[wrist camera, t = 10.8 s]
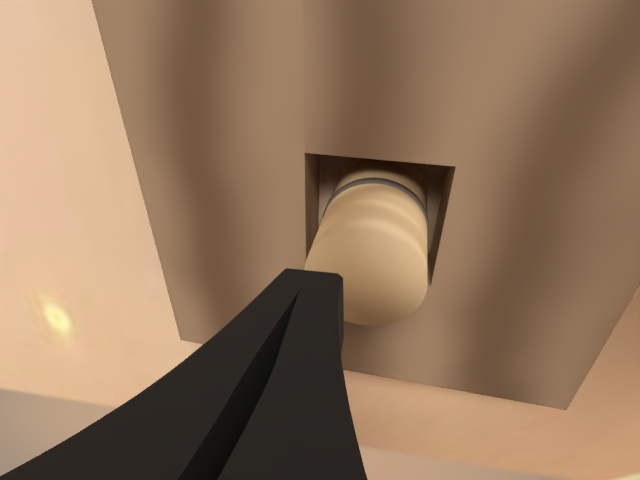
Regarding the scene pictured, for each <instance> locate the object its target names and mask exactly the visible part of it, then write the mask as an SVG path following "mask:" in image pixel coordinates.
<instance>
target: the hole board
mask: <svg viewBox="0 0 640 480" xmlns="http://www.w3.org/2000/svg"><path fill="white" fill-rule="evenodd" d="M92 4H93V8H94V12H95V15H96V19H97V23H98V27H99V31H100V34H101V38H102V42H103V46H104V50H105V53H106V57H107V61H108V65H109V69H110V72H111V76H112V80H113V84H114V88H115V91H116V95H117V99H118V103H119V107H120V110H121V114H122V118H123V122H124V126H125V130H126V133H127V137H128V141H129V145H130V149H131V152H132V156H133V160H134V164H135V168H136V171H137V175H138V179H139V183H140V187H141V190H142V194H143V198H144V202H145V206H146V209H147V213H148V217H149V221H150V225H151V228H152V232H153V236H154V240H155V244H156V247H157V251H158V255H159V259H160V263H161V267H162V270H163V274H164V278H165V282H166V286H167V289H168V293H169V297H170V301H171V305H172V308H173V312H174V316H175V320H176V324H177V327H178V331H179V335H180V339H181V340H184V341H189V342H195V343H200V344H205V343H206V342H207V341H208V340H209V339H211V338H212V337H213V336H214V335H215V334H217V333H218V332H219V331H220V330H221V329H222V328H223V327H224V326H226V325H227V324H228V323H229V322H230V321H231V320H232V319H233V318H234V317H235V316H236V315H237V314H239V313H240V312H241V311H242V310H243V309H244V308H245V307H246V306H247V305H248V304H249V303H250V302H251V301H252V300H253V299H254V298H256V297H257V296H258V295H259V294H260V293H261V292H262V291H263V290H264V289H265V288H266V287H267V286H268V285H269V284H270V283H271V282H272V281H273V280H274V279H275V278H276V277H277V276H278V275H279V274H280V273H281V272H282V271H283V270H285V269H286V268H290V269H300V270H304V268H305V263H306V260H307V257H308V255H309V252H310V249H311V247H312V244H313V242H314V239H315V237H316V234H317V232H318V198H319V154H322V155H333V156H344V157H355V158H366V159H377V160H388V161H400V162H411V163H422V164H433V165H444V166H447V170H446V175H445V180H444V185H443V190H442V195H441V200H440V205H439V210H438V215H437V220H436V225H435V231H434V236H433V241H432V246H431V251H430V253H429V252H427V291H426V295H425V297H424V300H423V301H422V303H421V305H420V306H419V307H418V308H417V309H416V310H415V311H414V312H413V313H412V314H411V315H409V316H408V317H406V318H404V319H402V320H400V321H397V322H394V323H391V324H387V325H379V326H367V325H359V324H354V323H350V322H347V321H344V338H343V346H342V354H341V360H342V367H343V369H344V370H349V371H355V372H360V373H366V374H371V375H377V376H382V377H388V378H393V379H399V380H404V381H410V382H415V383H421V384H426V385H432V386H437V387H443V388H448V389H454V390H459V391H465V392H470V393H476V394H481V395H487V396H492V397H498V398H503V399H509V400H514V401H520V402H525V403H531V404H536V405H542V406H547V407H553V408H558V409H564V410H567V408H568V406H569V405H570V403H571V401H572V399H573V398H574V396H575V394H576V393H577V391H578V389H579V387H580V386H581V384H582V382H583V381H584V379H585V377H586V375H587V374H588V372H589V370H590V369H591V367H592V365H593V363H594V362H595V360H596V358H597V356H598V355H599V353H600V351H601V350H602V348H603V346H604V344H605V343H606V341H607V339H608V338H609V336H610V334H611V332H612V331H613V329H614V327H615V326H616V324H617V322H618V320H619V319H620V317H621V315H622V313H623V312H624V310H625V308H626V307H627V305H628V303H629V301H630V300H631V298H632V296H633V295H634V293H635V291H636V289H637V288H638V286H639V284H640V0H92Z"/></svg>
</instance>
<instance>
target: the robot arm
mask: <svg viewBox="0 0 640 480" xmlns="http://www.w3.org/2000/svg"><path fill="white" fill-rule="evenodd" d="M343 338H344V302H343V277H342V276H341V275H339V274H338V273H330V272H320V271H310V270H300V269H290V268H286V269H285V270H283V271H282V272H281V273H280V274H279V275H278V276H277V277H276V278H275V279H274V280H273V281H272V282H271V283H270V284H269V285H268V286H267V287H266V288H265V289H264V290H263V291H262V292H261V293H260V294H259V295H258V296H257V297H256V298H254V299H253V300H252V301H251V302H250V303H249V304H248V305H247V306H246V307H245V308H244V309H243V310H242V311H241V312H240V313H239V314H237V315H236V316H235V317H234V318H233V319H232V320H231V321H230V322H229V323H228V324H227V325H226V326H224V327H223V328H222V329H221V330H220V331H219V332H218V333H217V334H215V335H214V336H213V337H212V338H211V339H209V340H208V341H207V342H206V343H205V344H203V345H202V346H201V347H200V348H199V349H197V350H196V351H195V352H194V353H193V354H191V355H190V356H189V357H188V358H187V359H185V360H184V361H183V362H181V363H180V364H179V365H178V366H176V367H175V368H174V369H172V370H171V371H170V372H168V373H167V374H166V375H164V376H163V377H162V378H160V379H159V380H158V381H156V382H155V383H153V384H152V385H151V386H149V387H148V388H146V389H145V390H144V391H142V392H141V393H139V394H138V395H137V396H135V397H134V398H132V399H131V400H129V401H127V402H126V403H124V404H123V405H121V406H120V407H118V408H117V409H115V410H114V411H112V412H110V413H109V414H107V415H105V416H104V417H103V418H101V419H100V420H98V421H96V422H95V423H93V424H91V425H90V426H88V427H86V428H85V429H83V430H82V431H80V432H79V433H77V434H75V435H74V436H72V437H70V438H68V439H67V440H65V441H63V442H62V443H60V444H58V445H56V446H55V447H53V448H51V449H49V450H48V451H46V452H44V453H42V454H41V455H39V456H37V457H35V458H33V459H32V460H30V461H28V462H26V463H24V464H23V465H20V466H19V467H17V468H15V469H13V470H11V471H10V472H8V473H6V474H4V475H2V476H0V480H367V477H366V473H365V470H364V466H363V462H362V458H361V454H360V450H359V446H358V442H357V438H356V434H355V430H354V425H353V421H352V416H351V412H350V407H349V402H348V397H347V391H346V386H345V380H344V374H343V367H342V360H341V354H342V346H343Z"/></svg>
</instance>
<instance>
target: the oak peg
mask: <svg viewBox="0 0 640 480" xmlns="http://www.w3.org/2000/svg"><path fill="white" fill-rule="evenodd" d="M428 230H429V222H428V215H427V188H426V184H425V180H424V178H423V176H422V174H421V173H420V171H419V170H418V169H417V168H416V167H415V166H414V165H413V164H412V163H411V162H400V161H388V160H377V159H366V158H357V159H355V160H353V161H352V162H351V163H350V164H348V165H347V166H346V167H345V169H344V170H343V171H342V173H341V175H340V177H339V179H338V181H337V184H336V186H335V189H334V192H333V194H332V197H331V198H330V200H329V202H328V204H327V206H326V208H325V211H324V214H323V218H322V222H321V224H320V227H319V229H318V232H317V234H316V237H315V239H314V242H313V244H312V247H311V249H310V252H309V255H308V257H307V260H306V263H305V268H304V270H310V271H320V272H330V273H338V274H339V275H341V276H342V277H343V302H344V321H347V322H350V323H354V324H359V325H367V326H379V325H387V324H391V323H394V322H397V321H400V320H402V319H404V318H406V317H408V316H409V315H411V314H412V313H413V312H414V311H415V310H416V309H417V308H418V307H419V306H420V305H421V303H422V301H423V300H424V297H425V295H426V291H427V239H428Z"/></svg>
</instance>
